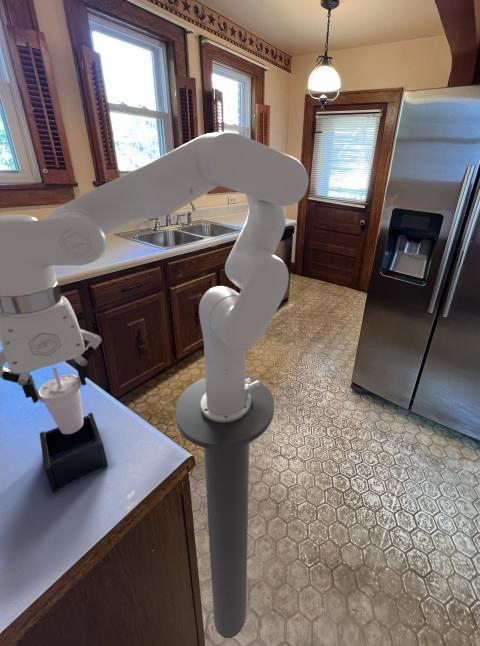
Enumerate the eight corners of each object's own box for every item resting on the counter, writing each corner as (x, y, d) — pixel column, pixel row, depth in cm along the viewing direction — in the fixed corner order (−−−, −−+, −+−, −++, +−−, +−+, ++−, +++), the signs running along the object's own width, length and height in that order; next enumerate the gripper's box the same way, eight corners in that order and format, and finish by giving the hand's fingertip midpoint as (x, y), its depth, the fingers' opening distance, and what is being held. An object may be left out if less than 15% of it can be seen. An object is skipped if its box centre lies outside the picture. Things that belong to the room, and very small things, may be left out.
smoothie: (60, 446, 55) (37, 383, 49) (46, 428, 58) (23, 367, 52) (97, 424, 59) (81, 364, 54) (82, 408, 63) (65, 350, 57)
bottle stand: (97, 433, 68) (92, 412, 65) (108, 465, 61) (102, 443, 59) (46, 454, 62) (39, 432, 60) (52, 493, 56) (44, 470, 53)
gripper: (-51, 323, 40) (-5, 426, 47) (99, 292, 50) (118, 381, 57) (-45, 303, 45) (-4, 398, 53) (89, 278, 55) (108, 361, 63)
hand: (60, 388), depth 55 cm, fingers closed on smoothie, 6 cm apart
